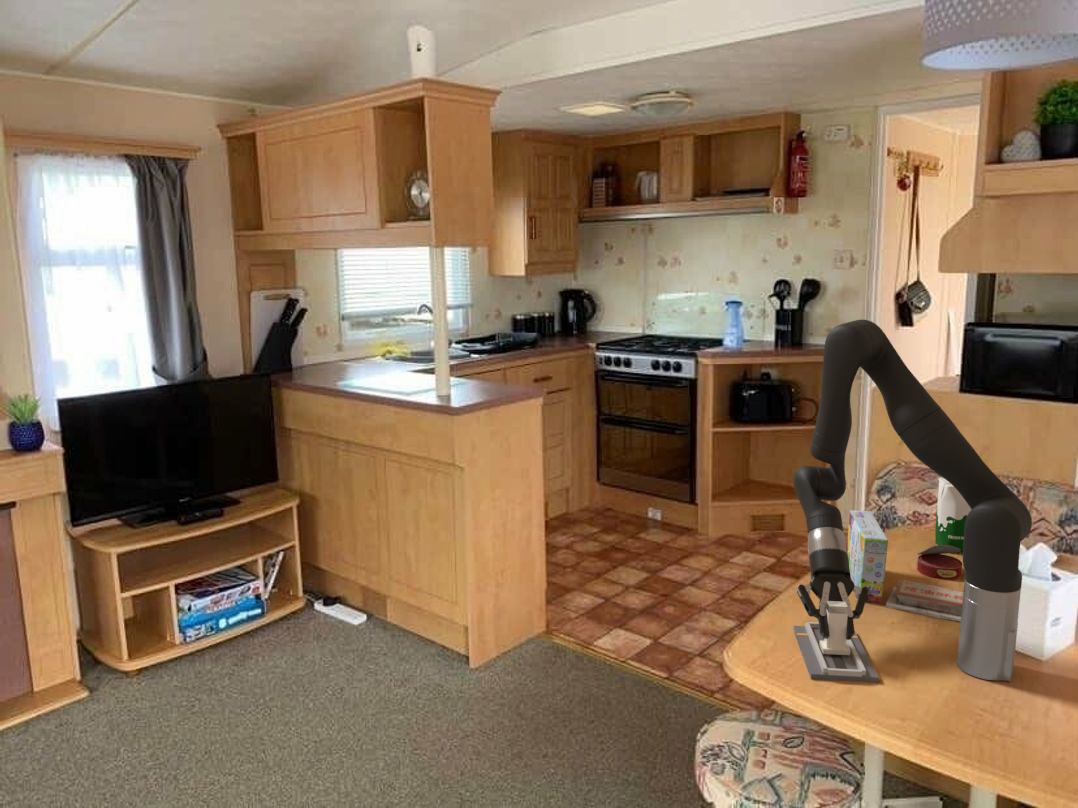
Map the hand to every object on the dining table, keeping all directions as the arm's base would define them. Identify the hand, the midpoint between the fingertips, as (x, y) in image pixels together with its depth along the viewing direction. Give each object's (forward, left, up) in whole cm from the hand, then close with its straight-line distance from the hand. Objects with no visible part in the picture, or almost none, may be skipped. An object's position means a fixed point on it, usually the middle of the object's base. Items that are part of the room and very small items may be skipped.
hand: (837, 637), depth 159 cm
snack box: (+4, -42, -5) cm, 42 cm away
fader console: (+1, -3, -5) cm, 6 cm away
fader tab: (+1, -2, -4) cm, 4 cm away
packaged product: (-12, -36, -6) cm, 38 cm away
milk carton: (-11, -78, -5) cm, 79 cm away
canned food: (-10, -59, -5) cm, 60 cm away
